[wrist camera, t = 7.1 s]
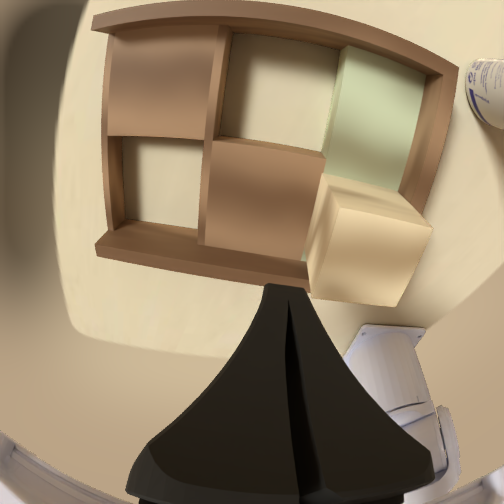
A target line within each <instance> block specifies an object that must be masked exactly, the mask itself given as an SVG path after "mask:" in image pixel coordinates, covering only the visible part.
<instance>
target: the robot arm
mask: <svg viewBox="0 0 504 504" xmlns="http://www.w3.org/2000/svg"><path fill="white" fill-rule="evenodd" d="M363 332H364V333H363ZM425 332H426V331H425V329H424V328H415V327H398V326H383V325H370V324H365V325H363V326H362V327H361V328H360V330H359V332H358V334H357V335H356V337H355V339H354V340H353V342H352V344H351V345H350V347H349V349H348V350H347V352H346V353H345V355H344V357H343V358H342V357H341V355H340V354H339V352H338V351H337V349H336V348H335V346H334V344H333V343H332V341H331V339H330V337H329V336H328V334H327V332H326V330H325V328H324V327H323V325H322V323H321V321H320V319H319V317H318V315H317V313H316V311H315V309H314V307H313V305H312V303H311V301H310V299H309V297H308V295H307V293H306V291H305V289H304V288H302V287H294V286H287V285H280V284H273V283H267V284H265V285H264V290H263V295H262V300H261V303H260V306H259V308H258V311H257V313H256V315H255V317H254V319H253V321H252V323H251V325H250V327H249V329H248V331H247V332H246V334H245V336H244V337H243V339H242V341H241V342H240V344H239V346H238V347H237V349H236V350H235V352H234V353H233V355H232V356H231V358H230V359H229V360H228V362H227V363H226V364H225V366H224V367H223V368H222V370H221V371H220V372H219V374H218V375H217V376H216V377H215V378H214V380H213V381H212V382H211V383H210V384H209V386H208V387H207V388H206V389H205V390H204V391H203V392H202V393H201V395H200V396H199V397H198V398H197V399H196V400H195V401H194V402H193V403H192V404H191V405H190V406H189V407H188V408H187V409H186V410H185V411H184V412H183V413H182V414H181V415H180V416H179V417H177V418H176V419H175V420H174V421H173V422H172V423H171V424H169V425H168V426H167V427H166V428H165V429H163V430H162V431H161V432H160V433H159V434H157V435H156V436H155V437H154V438H152V439H151V440H150V441H149V442H148V443H147V445H146V446H145V447H144V449H143V450H142V452H141V453H140V455H139V456H138V457H137V459H136V461H135V462H134V464H133V466H132V469H131V471H130V474H129V478H128V481H127V485H126V489H125V491H126V492H127V493H128V494H130V495H133V496H135V497H138V498H140V499H139V504H504V465H502V466H500V467H499V468H497V469H495V470H494V471H492V472H490V473H488V474H487V475H485V476H482V477H480V478H478V479H476V480H474V481H472V482H470V483H468V484H466V485H464V486H462V487H460V488H458V489H457V490H455V491H453V492H450V493H449V491H450V490H451V489H452V488H453V487H454V486H455V485H456V483H457V482H458V480H459V475H460V474H461V467H460V461H459V458H460V453H459V446H458V441H457V436H456V432H455V428H454V424H453V421H452V418H451V414H450V412H449V409H448V408H446V407H443V406H442V405H440V406H438V407H437V413H438V419H439V424H440V427H441V428H439V425H438V420H437V416H436V412H435V409H434V405H433V402H432V400H431V398H430V395H429V391H428V388H427V385H426V381H425V378H424V375H423V372H422V369H421V366H420V363H419V361H418V358H417V355H416V352H415V349H414V348H415V346H416V345H417V344H418V342H419V341H420V340H421V338H422V337H423V335H424V334H425ZM445 450H446V455H447V458H446V455H445ZM0 504H133V503H130V502H127V501H125V500H122V499H119V498H116V497H114V496H112V495H109V494H107V493H104V492H102V491H100V490H97V489H95V488H93V487H91V486H89V485H86V484H84V483H82V482H80V481H78V480H76V479H74V478H72V477H70V476H69V475H67V474H65V473H63V472H61V471H59V470H57V469H56V468H54V467H52V466H51V465H49V464H47V463H46V462H44V461H42V460H41V459H39V458H38V457H37V456H36V455H35V454H33V453H32V452H30V451H29V450H27V449H26V448H24V447H23V446H22V445H20V444H19V443H18V442H16V441H15V440H13V439H12V438H10V437H9V436H8V435H6V434H4V433H3V432H2V431H1V430H0Z"/></svg>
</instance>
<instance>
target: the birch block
mask: <svg viewBox="0 0 504 504" xmlns="http://www.w3.org/2000/svg"><path fill="white" fill-rule="evenodd" d="M432 231H433V227H432V226H431V225H430V224H429V223H428V222H427V221H426V220H425V219H424V218H423V217H422V216H421V215H420V214H419V213H418V211H417V210H416V209H415V208H414V207H413V206H412V205H411V204H410V203H409V202H408V201H407V200H406V199H405V198H404V197H403V196H401V195H400V194H399V193H398V192H397V191H395V190H392V189H388V188H384V187H380V186H376V185H372V184H368V183H364V182H360V181H356V180H351V179H347V178H342V177H338V176H333V175H328V174H323V173H322V175H321V179H320V184H319V188H318V192H317V197H316V201H315V205H314V209H313V214H312V218H311V222H310V226H309V230H308V234H307V238H306V241H305V245H304V248H305V255H306V262H307V268H308V275H309V283H310V290H311V298H314V299H323V300H331V301H340V302H349V303H358V304H368V305H378V306H388V307H396V305H397V303H398V301H399V300H400V298H401V296H402V294H403V292H404V290H405V289H406V287H407V285H408V283H409V281H410V279H411V277H412V275H413V273H414V271H415V269H416V267H417V265H418V263H419V260H420V258H421V256H422V254H423V252H424V250H425V247H426V245H427V243H428V241H429V238H430V236H431V233H432Z"/></svg>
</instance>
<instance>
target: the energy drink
mask: <svg viewBox="0 0 504 504" xmlns="http://www.w3.org/2000/svg"><path fill="white" fill-rule="evenodd" d="M465 83H466V93H467V96H468V100H469V102H470V105H471V107H472V109H473V111H474V112H475V114H476V115H477V116H478V118H479V119H480V120H481V121H483V122H484V123H486V124H488V125H491V126H494V127H497V128H500V129H502V130H504V59H477V60H475V61H473V62H472V63H471V64H470V66H469V68H468V70H467V73H466V80H465Z"/></svg>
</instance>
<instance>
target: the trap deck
mask: <svg viewBox="0 0 504 504" xmlns="http://www.w3.org/2000/svg"><path fill="white" fill-rule="evenodd" d="M91 30H92V31H98V32H103V33H107V34H109V37H108V43H107V50H106V59H105V68H104V79H103V93H102V118H101V146H102V172H103V187H104V199H105V209H106V217H107V226H108V231H107V232H106V233H105V234H104V235H103V236H102V237H101V238H100V239H99V240H98V241H97V242H96V243H95V249H96V254H97V256H98V257H103V258H108V259H113V260H118V261H123V262H128V263H133V264H138V265H143V266H149V267H154V268H159V269H165V270H170V271H176V272H181V273H187V274H192V275H198V276H204V277H210V278H216V279H222V280H228V281H234V282H240V283H247V284H253V285H259V286H264V285H265V284H267V283H273V284H280V285H287V286H294V287H302V288H304V289H305V291H306V292H308V293H311V290H310V283H309V275H308V268H307V262H306V255H305V248H304V245H305V241H306V238H307V234H308V230H309V226H310V222H311V218H312V214H313V209H314V205H315V201H316V197H317V192H318V188H319V184H320V179H321V175H322V173H323V174H328V175H333V176H338V177H342V178H347V179H351V180H356V181H360V182H364V183H368V184H372V185H376V186H380V187H384V188H388V189H392V190H395V191H397V192H398V193H399V194H400V195H401V196H403V197H404V198H405V199H406V200H407V201H408V202H409V203H410V204H411V205H412V206H413V207H414V208H415V209H416V210H417V211H418V213H419V214H420V215H421V214H422V212H423V209H424V206H425V204H426V201H427V198H428V195H429V192H430V189H431V186H432V183H433V180H434V177H435V174H436V171H437V168H438V164H439V161H440V157H441V154H442V150H443V147H444V143H445V139H446V135H447V131H448V127H449V122H450V118H451V113H452V108H453V103H454V97H455V92H456V85H457V79H458V71H459V67H457V66H456V65H454V64H452V63H451V62H449V61H447V60H445V59H444V58H442V57H440V56H438V55H436V54H434V53H432V52H430V51H429V50H427V49H425V48H422V47H420V46H418V45H416V44H414V43H412V42H410V41H407V40H405V39H403V38H401V37H398V36H396V35H393V34H391V33H388V32H386V31H383V30H381V29H378V28H375V27H372V26H369V25H366V24H363V23H360V22H357V21H354V20H351V19H347V18H344V17H340V16H336V15H333V14H329V13H324V12H320V11H316V10H311V9H306V8H301V7H295V6H289V5H283V4H275V3H267V2H257V1H244V0H184V1H171V2H162V3H153V4H146V5H140V6H134V7H128V8H123V9H118V10H114V11H109V12H105V13H101V14H97V15H94V16H93V21H92V27H91ZM233 33H246V34H256V35H265V36H273V37H280V38H286V39H292V40H298V41H303V42H308V43H313V44H317V45H321V46H326V47H330V48H334V49H337V50H340V56H339V62H338V68H337V74H336V80H335V85H334V91H333V96H332V101H331V106H330V112H329V117H328V122H327V127H326V131H325V136H324V141H323V146H322V150H321V152H318V151H313V150H308V149H303V148H298V147H293V146H287V145H282V144H276V143H270V142H264V141H257V140H250V139H243V138H235V137H227V136H219V134H220V125H221V117H222V108H223V101H224V93H225V85H226V78H227V71H228V64H229V58H230V51H231V45H232V38H233ZM122 136H152V137H172V138H186V139H198V140H204V146H203V158H202V170H201V184H200V200H199V218H198V229H192V228H185V227H179V226H172V225H165V224H158V223H151V222H144V221H137V220H130V219H125V207H124V191H123V167H122Z"/></svg>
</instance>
